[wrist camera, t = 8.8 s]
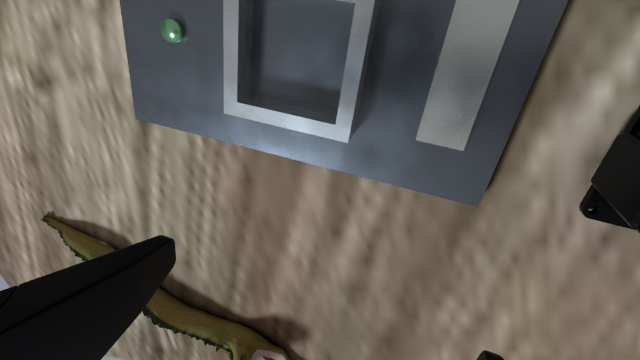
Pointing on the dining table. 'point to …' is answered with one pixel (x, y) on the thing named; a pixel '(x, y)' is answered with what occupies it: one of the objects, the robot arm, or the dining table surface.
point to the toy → (181, 309)
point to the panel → (345, 80)
